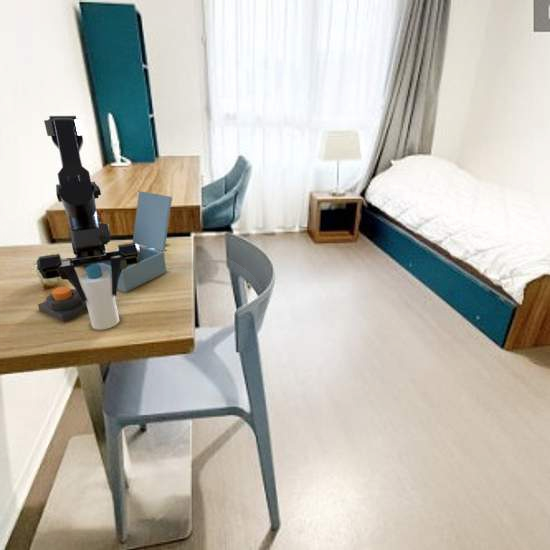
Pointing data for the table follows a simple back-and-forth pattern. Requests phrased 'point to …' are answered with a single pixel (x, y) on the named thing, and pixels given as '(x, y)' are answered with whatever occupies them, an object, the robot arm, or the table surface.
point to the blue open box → (139, 269)
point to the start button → (62, 293)
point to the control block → (64, 307)
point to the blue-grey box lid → (152, 220)
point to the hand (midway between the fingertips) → (100, 298)
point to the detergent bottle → (99, 297)
